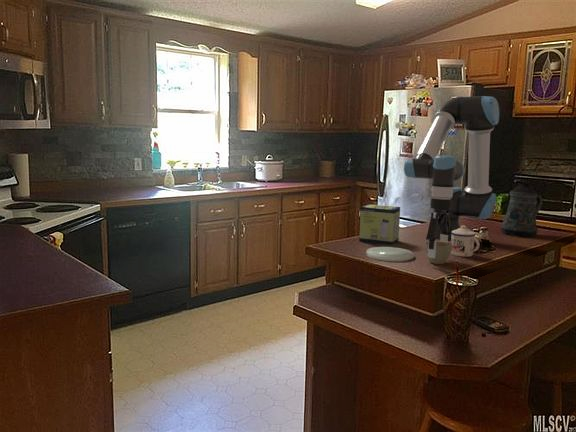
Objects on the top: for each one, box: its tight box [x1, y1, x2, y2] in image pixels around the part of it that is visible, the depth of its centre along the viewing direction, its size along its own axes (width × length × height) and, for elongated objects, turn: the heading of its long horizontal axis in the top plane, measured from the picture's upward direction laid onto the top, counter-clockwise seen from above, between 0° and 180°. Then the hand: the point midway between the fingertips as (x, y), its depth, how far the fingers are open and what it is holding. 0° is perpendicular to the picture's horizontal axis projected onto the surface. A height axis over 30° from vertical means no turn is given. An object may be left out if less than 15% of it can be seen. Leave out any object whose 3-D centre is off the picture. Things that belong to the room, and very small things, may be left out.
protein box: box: [358, 204, 401, 246], centre depth 222 cm, size 10×16×16 cm
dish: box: [366, 246, 415, 263], centre depth 196 cm, size 18×18×2 cm
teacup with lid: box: [450, 225, 480, 258], centre depth 200 cm, size 12×9×12 cm
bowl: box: [424, 241, 453, 265], centre depth 187 cm, size 10×10×7 cm
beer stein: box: [500, 182, 543, 238], centre depth 247 cm, size 16×19×25 cm
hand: (437, 254), depth 188 cm, fingers open, 13 cm apart
